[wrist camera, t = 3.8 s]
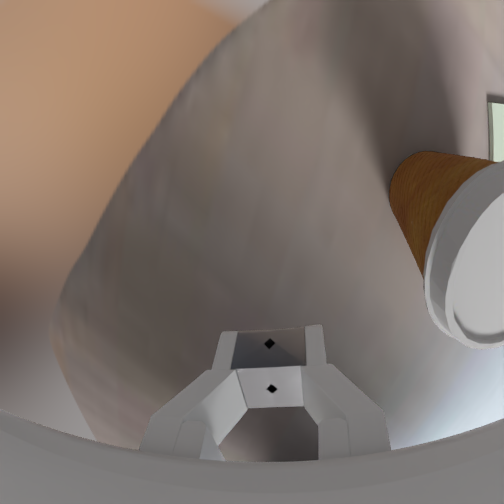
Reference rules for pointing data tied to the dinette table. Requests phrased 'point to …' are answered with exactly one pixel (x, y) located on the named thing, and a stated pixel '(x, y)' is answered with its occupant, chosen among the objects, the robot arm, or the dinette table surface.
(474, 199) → the disposable coffee cup
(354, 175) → the dinette table surface
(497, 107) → the mat
